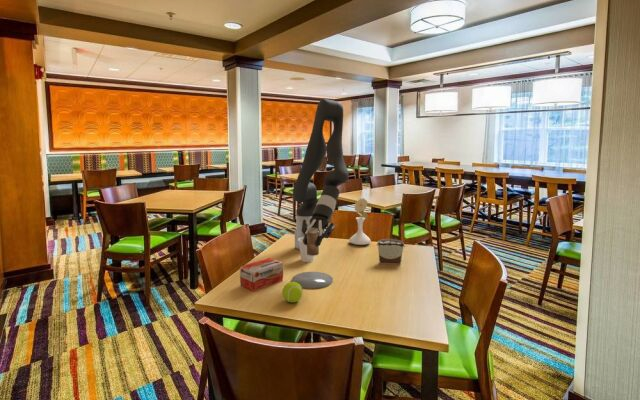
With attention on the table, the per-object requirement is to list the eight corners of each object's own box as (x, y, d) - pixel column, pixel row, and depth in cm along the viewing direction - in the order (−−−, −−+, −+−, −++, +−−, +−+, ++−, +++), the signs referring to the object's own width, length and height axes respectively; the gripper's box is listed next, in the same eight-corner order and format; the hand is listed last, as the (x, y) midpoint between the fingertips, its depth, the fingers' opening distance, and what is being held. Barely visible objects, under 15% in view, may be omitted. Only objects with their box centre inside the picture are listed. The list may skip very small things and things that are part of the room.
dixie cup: (314, 263, 173) (314, 242, 172) (296, 262, 175) (296, 240, 173) (318, 257, 181) (318, 237, 180) (300, 256, 183) (300, 236, 181)
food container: (402, 260, 179) (403, 239, 178) (403, 264, 173) (404, 242, 171) (375, 258, 180) (376, 238, 179) (376, 263, 174) (376, 241, 173)
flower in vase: (345, 241, 209) (346, 195, 204) (365, 239, 212) (366, 194, 208) (355, 248, 196) (356, 199, 192) (375, 246, 200) (377, 198, 195)
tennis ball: (279, 299, 136) (279, 280, 135) (298, 296, 139) (298, 277, 138) (286, 307, 130) (286, 287, 129) (305, 303, 133) (305, 284, 132)
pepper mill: (304, 254, 150) (304, 229, 149) (310, 251, 154) (310, 226, 153) (315, 256, 148) (315, 230, 147) (320, 252, 152) (320, 228, 151)
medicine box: (252, 292, 142) (252, 271, 141) (239, 286, 148) (239, 266, 146) (283, 281, 153) (283, 261, 152) (270, 275, 159) (270, 257, 157)
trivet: (284, 283, 150) (284, 281, 150) (304, 271, 164) (304, 269, 164) (321, 291, 143) (321, 289, 143) (339, 277, 157) (339, 275, 157)
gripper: (306, 202, 158) (290, 237, 150) (338, 204, 152) (324, 242, 143) (312, 212, 164) (298, 247, 155) (343, 215, 157) (330, 252, 149)
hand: (310, 244), depth 149 cm, fingers closed on pepper mill, 4 cm apart
